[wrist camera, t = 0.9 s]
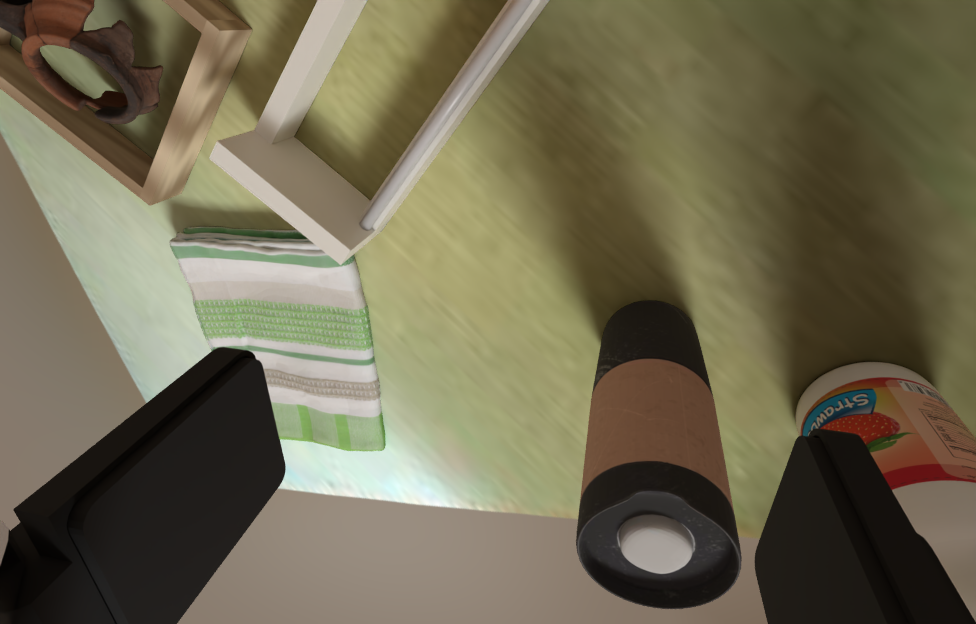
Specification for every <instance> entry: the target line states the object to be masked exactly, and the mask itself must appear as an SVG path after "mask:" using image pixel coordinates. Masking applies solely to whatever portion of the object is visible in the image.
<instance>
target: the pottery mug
mask: <svg viewBox="0 0 976 624" xmlns="http://www.w3.org/2000/svg"><path fill="white" fill-rule="evenodd" d="M93 8H94V0H0V27H1V28H2V29H4V30H6V31H8V32H10V33H11V34H13V35H15V36H17V37H18V38H20V39H21V40H22V41H23V43H22V48H21V49H22V57H23V60H24V62H25V64H26V66H27V67H28V70H29V71H30V72H31V73H32V75H33V76H34V77H35V79H36V80H37V81H38V82H39V83H40V84H41V85H42V86H43V87H44V88H45V89H46V90H47V91H48V92H50V93H51V94H52V95H53V96H54V97H56V98H57V99H58V100H60V101H61V102H63V103H64V104H65V105H67V106H68V107H70V108H72V109H74V110H76V111H80V110H81V109H82V108H83V107H84V105H89V106H91V107H93V108H96V109H99V110H98V111H96V112H95V114H94V115H95V117H96V118H98V119H100V120H101V121H103V122H105V123H111V124H126V123H129V122H132V121H133V120H134V119H135V118H136V116H138V115H141V114H145V113H149V112H151V111H153V110H154V109H155V108H157V107H158V103H157V102H159V101H160V93H159V88H158V85H159V80H160V78H161V75H162V71H163V67H162V66H161V65H159V66H156V67H136V66H132V63H133V61H134V59H135V51H134V46H133V33H132V31H131V30H130V28H129V27H128V26H127V25H126V23H125V22H123V21H122V20H119V21H117V23H115V24H114V25H113V26H112V27H111V28H110V27H106V28H100V29H97V30H90V31H83V28H84V23H85V21H86V19H87V17H88V15H89V14H90V13H91V12H92V10H93ZM44 45H57V46H62V47H66V48H69V49H73V50H75V51H77V52H79V53H80V54H82V55H84V56H86V57H88V58H90V59H91V60H93V61H94V62H96V63H97V64H98V65H100V66H101V67H102V68H103V69H105V70H106V71H107V72H108V73H109V74H110V75H112V76H113V77H114V78H115V80H116V81H117V82H118V83H119V85H120V86H121V88H122V89H123V91H124V93H125V94H124V93H120V92H115V91H105V92H104V93H103V94H102V96H101V97H100V98H97V99H93V98H91V97H89V96H87V95H85V94H84V93H82V92H80V91H79V90H77V89H76V88H74V87H73V86H71V85H70V84H69V83H67V82H66V81H65V80H64V79H63V78H62V77H61V76H60V75H59V74H58V73H57V72H55V71H54V70H53V69H52V68H51V66H50V65H49V64H48V63H47V61H46V60H45V58H44V57H43V56H42V54H41V52H40V47H41V46H44Z"/></svg>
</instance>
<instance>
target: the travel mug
mask: <svg viewBox="0 0 976 624" xmlns="http://www.w3.org/2000/svg"><path fill="white" fill-rule="evenodd" d="M576 546H577V553H578V556H579V559H580V562H581V563H582V566H583V568H584V569H585V570H586V572H587V573H588V575H589V576H590V577H591V578H592V579H593V580H594V581H595V582H596V583H598V584H599V585H600V586H601V587H603V588H604V589H606V590H607V591H608V592H610V593H612V594H614V595H615V596H618V597H620V598H622V599H624V600H627V601H630V602H632V603H635V604H639V605H643V606H648V607H653V608H662V609H683V608H691V607H696V606H700V605H703V604H706V603H709V602H711V601H713V600H716V599H717V598H719V597H721V596H722V595H723V594H725V593H726V592H727V591H728V590H729V589H730V588H731V587H732V586H733V585H734V584H735V582H736V580H737V578H738V576H739V573H740V569H741V551H740V544H739V538H738V533H737V527H736V521H735V516H734V510H733V505H732V499H731V493H730V488H729V482H728V477H727V471H726V465H725V460H724V454H723V449H722V443H721V437H720V432H719V426H718V420H717V415H716V409H715V404H714V399H713V394H712V390H711V386H710V383H709V379H708V375H707V371H706V367H705V363H704V359H703V355H702V351H701V347H700V343H699V339H698V336H697V333H696V330H695V327H694V325H693V323H692V322H691V320H690V319H689V318H688V316H687V315H686V314H685V313H683V312H682V311H681V310H680V309H678V308H676V307H675V306H672V305H670V304H667V303H664V302H660V301H640V302H635V303H632V304H629V305H627V306H625V307H623V308H621V309H620V310H619V311H617V312H616V313H615V314H614V315H613V316H612V317H611V319H610V320H609V321H608V323H607V325H606V327H605V330H604V333H603V337H602V342H601V348H600V353H599V359H598V364H597V370H596V376H595V381H594V387H593V392H592V399H591V407H590V416H589V425H588V435H587V444H586V453H585V462H584V471H583V481H582V490H581V499H580V508H579V517H578V526H577V539H576Z"/></svg>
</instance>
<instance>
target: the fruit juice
mask: <svg viewBox="0 0 976 624" xmlns="http://www.w3.org/2000/svg"><path fill="white" fill-rule="evenodd" d="M796 426H797V432H798V435H799V436H809V434H810V432H811V431H812V430H813V429H816V428H819V429H826V430H833V431H841V432H848V433H855V434H857V435H859V436H860V437H861V438H862V440H863V441H864V443H865V445H866V446H867V448H868V450H869V451H870V453H871V455H872V457H873V458H874V460H875V462H876V464H877V465H878V467H879V469H880V471H881V472H882V474H883V476H884V477H885V479H886V481H887V483H888V484H889V486H890V488H891V490H892V491H893V493H894V495H895V497H896V498H897V500H898V502H899V503H900V505H901V507H902V509H903V510H904V512H905V514H906V516H907V517H908V519H909V521H910V523H911V524H912V526H913V528H914V529H915V531H916V533H918V534H919V535H921V536H922V537H924V538H925V540H926V541H927V542H928V543H929V545H930V546H931V547H932V549H933V550H934V552H935V554H936V556H937V557H938V559H939V561H940V562H941V564H942V566H943V567H944V569H945V571H946V573H947V574H948V576H949V578H950V579H951V581H952V583H953V584H954V586H955V588H956V589H957V591H958V593H959V595H960V596H961V598H962V600H963V601H964V603H965V605H966V606H967V608H968V610H969V611H970V613H971V615H972V617H973V618H974V620H975V622H976V438H975V437H974V436H973V434H972V433H971V432H970V431H969V429H968V428H967V427H966V426H965V424H964V423H963V422H962V421H961V419H960V418H959V417H958V416H957V414H956V413H955V412H954V411H953V409H952V408H951V407H950V406H949V404H948V403H947V402H946V401H945V399H944V398H943V397H942V396H941V394H940V393H939V392H938V391H937V390H936V388H935V387H934V386H933V385H931V384H930V383H929V382H928V381H927V380H926V379H924V378H923V377H922V376H920V375H919V374H917V373H915V372H913V371H911V370H909V369H907V368H904V367H902V366H898V365H895V364H890V363H883V362H861V363H854V364H849V365H846V366H842V367H839V368H836V369H834V370H832V371H830V372H828V373H826V374H824V375H822V376H821V377H819V378H818V379H816V380H815V381H814V382H813V383H812V384H811V385H810V386H809V387H808V388H807V389H806V390H805V391H804V393H803V394H802V396H801V398H800V400H799V402H798V405H797V409H796Z"/></svg>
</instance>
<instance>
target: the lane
mask: <svg viewBox="0 0 976 624" xmlns="http://www.w3.org/2000/svg"><path fill="white" fill-rule="evenodd" d="M366 2H367V0H318V1H317V3H316V5H315V7H314V9H313V11H312V13H311V15H310V17H309V19H308V21H307V23H306V25H305V27H304V29H303V31H302V33H301V35H300V37H299V40H298V42H297V44H296V46H295V48H294V50H293V52H292V54H291V56H290V58H289V60H288V62H287V64H286V66H285V68H284V70H283V72H282V74H281V76H280V78H279V81H278V83H277V85H276V87H275V89H274V91H273V93H272V95H271V97H270V99H269V101H268V103H267V105H266V107H265V109H264V111H263V113H262V115H261V117H260V119H259V122H258V124H257V126H256V128H255V130H253V131H250V132H246V133H243V134H240V135H236V136H233V137H229V138H226V139H222V140H219V141H217V142H216V144H215V147H214V149H213V151H212V153H211V156H210V158H209V159H210V160H212V161H213V162H214V163H215V164H216V165H218V166H219V167H220V168H221V169H223V170H224V171H225V172H226V173H228V174H229V175H230V176H231V177H232V178H234V179H235V180H236V181H237V182H239V183H240V184H241V185H242V186H244V187H245V188H246V189H247V190H249V191H250V192H251V193H252V194H253V195H255V196H256V197H257V198H258V199H260V200H261V201H262V202H263V203H265V204H266V205H267V206H268V207H269V208H271V209H272V210H273V211H274V212H276V213H277V214H278V215H279V216H281V217H282V218H283V219H284V220H285V221H287V222H288V223H289V224H290V225H292V226H293V227H294V228H295V229H297V230H298V231H299V232H300V233H302V234H303V235H304V236H305V237H306V238H308V239H309V240H310V241H311V242H313V243H314V244H315V245H316V246H318V247H319V248H320V249H321V250H322V251H324V252H325V253H326V254H327V255H329V256H330V257H331V258H332V259H334V260H335V261H336V262H337V263H339V264H340V265H341V264H343V263H344V262H345V261H346V260H347V259H349V258H350V257H351V256H352V255H353V254H355V253H356V252H357V251H358V250H359V249H361V248H362V247H363V246H364V245H366V244H367V243H368V242H369V241H370V240H372V239H373V238H374V237H375V236H376V235H378V234H379V233H380V232H381V231H382V230H383V229H384V227H385V226H386V224H387V223H388V222H389V220H390V219H391V218H392V216H393V215H394V213H395V212H396V211H397V209H398V208H399V207H400V205H401V204H402V202H403V201H404V200H405V198H406V197H407V196H408V194H409V193H410V191H411V190H412V189H413V187H414V186H415V185H416V183H417V182H418V180H419V179H420V178H421V176H422V175H423V174H424V172H425V171H426V169H427V168H428V167H429V165H430V164H431V163H432V161H433V160H434V158H435V157H436V156H437V154H438V153H439V152H440V150H441V149H442V147H443V146H444V145H445V143H446V142H447V141H448V139H449V138H450V136H451V135H452V134H453V132H454V131H455V130H456V128H457V127H458V125H459V124H460V123H461V121H462V120H463V119H464V117H465V116H466V114H467V113H468V112H469V110H470V109H471V108H472V106H473V105H474V103H475V102H476V101H477V99H478V98H479V97H480V95H481V94H482V92H483V91H484V90H485V88H486V87H487V86H488V84H489V83H490V81H491V80H492V79H493V77H494V76H495V75H496V73H497V72H498V70H499V69H500V68H501V66H502V65H503V64H504V62H505V61H506V59H507V58H508V57H509V55H510V54H511V53H512V51H513V50H514V48H515V47H516V46H517V44H518V43H519V42H520V40H521V39H522V37H523V36H524V35H525V33H526V32H527V31H528V29H529V28H530V26H531V25H532V24H533V22H534V21H535V20H536V18H537V17H538V15H539V14H540V13H541V11H542V10H543V9H544V7H545V6H546V4H547V3H548V2H549V0H508V1H507V3H506V4H505V5H504V7H503V8H502V10H501V11H500V13H499V14H498V16H497V17H496V19H495V20H494V22H493V23H492V24H491V26H490V27H489V29H488V30H487V32H486V33H485V35H484V36H483V38H482V39H481V41H480V42H479V43H478V45H477V46H476V48H475V49H474V51H473V52H472V54H471V55H470V57H469V58H468V60H467V61H466V62H465V64H464V65H463V67H462V68H461V70H460V71H459V73H458V74H457V76H456V77H455V79H454V80H453V81H452V83H451V84H450V86H449V87H448V89H447V90H446V92H445V93H444V95H443V96H442V98H441V99H440V100H439V102H438V103H437V105H436V106H435V108H434V109H433V111H432V112H431V114H430V115H429V117H428V118H427V119H426V121H425V122H424V124H423V125H422V127H421V128H420V130H419V131H418V133H417V134H416V135H415V137H414V138H413V140H412V141H411V143H410V144H409V146H408V147H407V149H406V150H405V152H404V153H403V154H402V156H401V157H400V159H399V160H398V162H397V163H396V165H395V166H394V168H393V169H392V171H391V172H390V173H389V175H388V176H387V178H386V179H385V181H384V182H383V184H382V185H381V187H380V188H379V190H378V191H377V192H376V194H375V195H374V197H373V198H372V200H371V201H370V200H369V199H368V198H367V197H365V196H364V195H363V194H362V193H361V192H360V191H358V190H357V189H356V188H355V187H354V186H352V185H351V184H350V183H349V182H348V181H346V180H345V179H344V178H343V177H342V176H340V175H339V174H338V173H337V172H336V171H335V170H333V169H332V168H331V167H330V166H329V165H327V164H326V163H325V162H324V161H323V160H321V159H320V158H319V157H318V156H317V155H315V154H314V153H313V152H312V151H311V150H309V149H308V148H307V147H306V146H305V145H304V144H302V143H301V142H300V141H299V140H298V139H296V138H295V137H294V136H295V134H296V132H297V130H298V128H299V126H300V125H301V123H302V121H303V119H304V117H305V115H306V113H307V112H308V110H309V108H310V106H311V104H312V102H313V100H314V99H315V97H316V95H317V93H318V91H319V89H320V88H321V86H322V84H323V82H324V80H325V78H326V76H327V75H328V73H329V71H330V69H331V67H332V65H333V63H334V62H335V60H336V58H337V56H338V54H339V52H340V50H341V49H342V47H343V45H344V43H345V41H346V39H347V37H348V36H349V34H350V32H351V30H352V28H353V26H354V24H355V23H356V21H357V19H358V17H359V15H360V13H361V11H362V10H363V8H364V6H365V4H366Z"/></svg>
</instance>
